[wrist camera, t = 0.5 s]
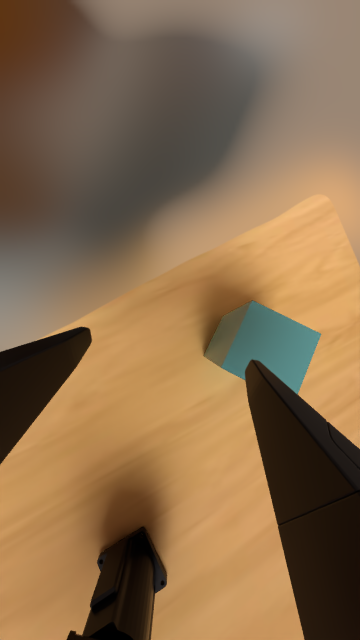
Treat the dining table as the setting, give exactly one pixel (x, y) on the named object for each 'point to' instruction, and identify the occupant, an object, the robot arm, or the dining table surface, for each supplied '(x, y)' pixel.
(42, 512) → the dining table surface
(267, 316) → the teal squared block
